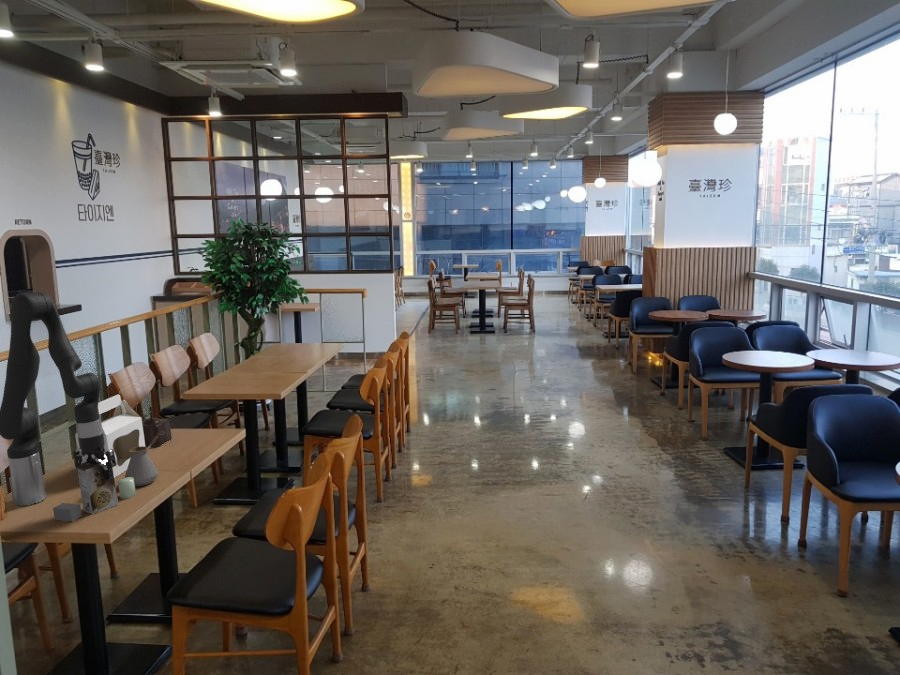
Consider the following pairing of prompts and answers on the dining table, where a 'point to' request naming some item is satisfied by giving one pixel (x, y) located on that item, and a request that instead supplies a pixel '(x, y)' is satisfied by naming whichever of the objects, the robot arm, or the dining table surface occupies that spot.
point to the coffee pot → (142, 465)
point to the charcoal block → (67, 512)
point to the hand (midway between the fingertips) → (98, 479)
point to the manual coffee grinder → (155, 430)
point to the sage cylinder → (126, 487)
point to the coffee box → (96, 488)
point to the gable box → (120, 431)
